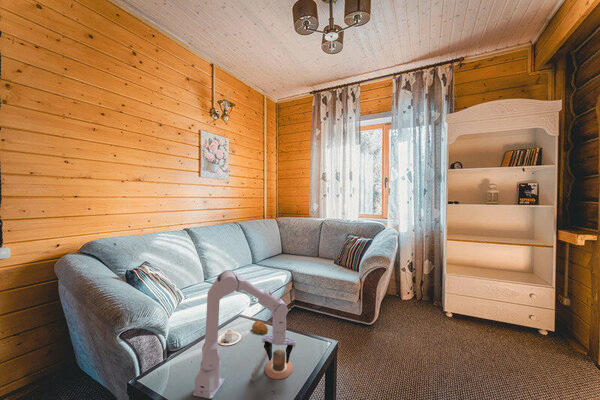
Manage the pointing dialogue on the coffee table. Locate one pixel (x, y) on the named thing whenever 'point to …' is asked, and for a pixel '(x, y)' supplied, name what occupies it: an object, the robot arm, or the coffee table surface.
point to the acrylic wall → (259, 365)
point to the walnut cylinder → (278, 360)
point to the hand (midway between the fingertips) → (278, 360)
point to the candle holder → (229, 337)
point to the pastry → (259, 327)
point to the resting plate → (278, 374)
